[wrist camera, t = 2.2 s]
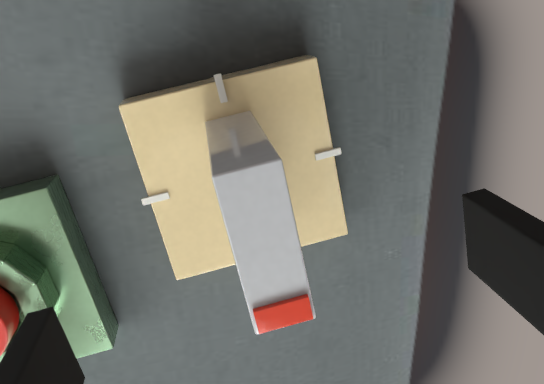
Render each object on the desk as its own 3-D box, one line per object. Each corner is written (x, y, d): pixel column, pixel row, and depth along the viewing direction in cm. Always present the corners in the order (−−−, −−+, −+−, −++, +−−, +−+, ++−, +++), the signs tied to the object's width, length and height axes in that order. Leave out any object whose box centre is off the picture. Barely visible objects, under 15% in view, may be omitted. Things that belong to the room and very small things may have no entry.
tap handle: (204, 121, 24) (211, 178, 16) (250, 110, 25) (283, 160, 16) (235, 235, 27) (256, 340, 18) (278, 224, 27) (318, 322, 18)
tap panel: (313, 45, 26) (323, 48, 24) (345, 224, 30) (356, 239, 28) (114, 94, 25) (107, 100, 23) (173, 270, 29) (172, 289, 27)
